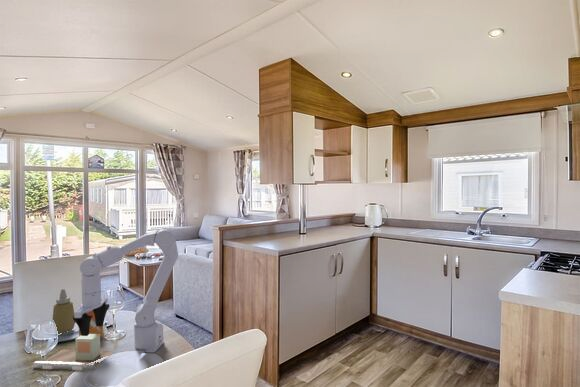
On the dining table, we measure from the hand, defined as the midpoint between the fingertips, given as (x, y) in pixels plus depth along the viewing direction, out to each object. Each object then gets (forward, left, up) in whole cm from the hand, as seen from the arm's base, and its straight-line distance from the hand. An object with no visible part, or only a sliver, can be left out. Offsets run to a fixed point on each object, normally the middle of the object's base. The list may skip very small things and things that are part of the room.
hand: (92, 330), depth 115 cm
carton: (0, +2, -8) cm, 8 cm away
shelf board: (+3, +3, -9) cm, 10 cm away
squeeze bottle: (+25, -18, -10) cm, 32 cm away
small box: (+10, -14, -10) cm, 20 cm away
